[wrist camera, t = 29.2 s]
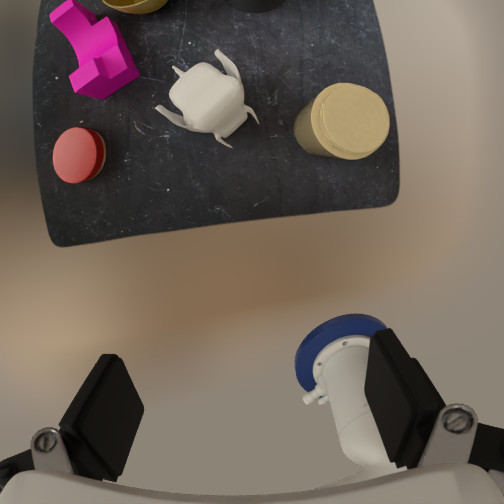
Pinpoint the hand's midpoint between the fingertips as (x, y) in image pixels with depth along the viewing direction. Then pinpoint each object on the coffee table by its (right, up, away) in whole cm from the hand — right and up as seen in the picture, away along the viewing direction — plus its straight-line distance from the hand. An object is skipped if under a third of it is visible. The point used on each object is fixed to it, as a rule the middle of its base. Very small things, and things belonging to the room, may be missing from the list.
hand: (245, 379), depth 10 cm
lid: (-24, +18, +24) cm, 38 cm away
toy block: (-21, +33, +21) cm, 44 cm away
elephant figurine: (-5, +23, +24) cm, 34 cm away
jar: (+9, +20, +25) cm, 33 cm away
